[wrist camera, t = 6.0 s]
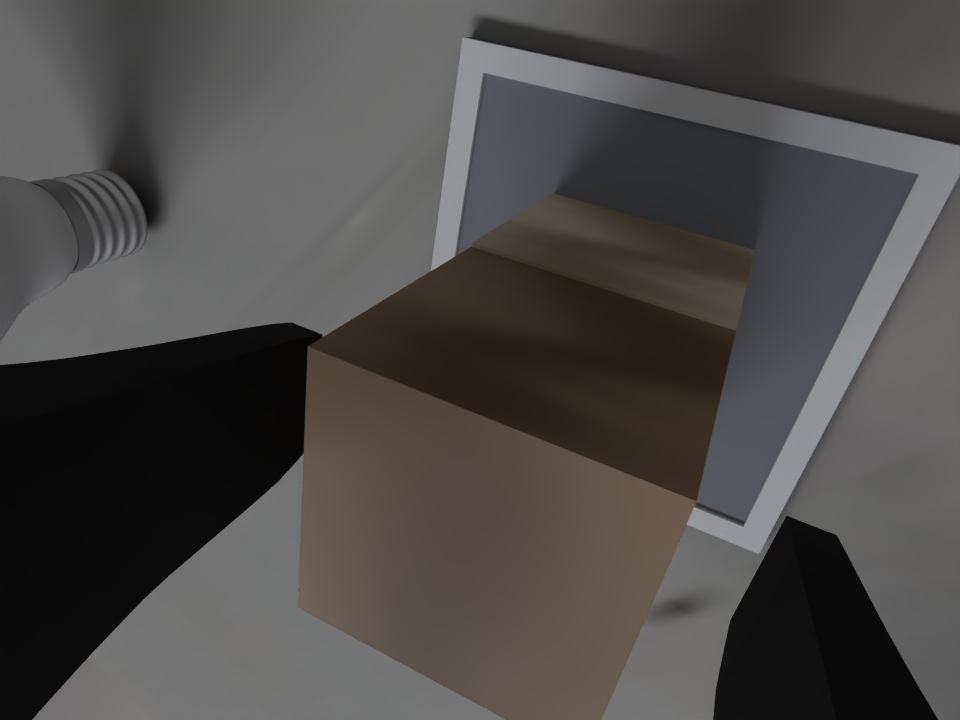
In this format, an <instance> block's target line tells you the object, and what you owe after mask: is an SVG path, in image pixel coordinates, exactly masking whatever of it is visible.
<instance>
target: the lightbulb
mask: <svg viewBox="0 0 960 720" xmlns="http://www.w3.org/2000/svg"><path fill="white" fill-rule="evenodd" d="M146 238H147V219H146V214H145V211H144V208H143V205H142V203H141V201H140V199H139V197H138V196H137V194H136V192H135V191H134V190H133V188H132V187H131V186H130V185H129V184H128V183H127V182H126V181H125V180H124V179H123V178H122V177H120V176H119V175H117V174H116V173H114V172H112V171H109V170H103V169H99V170H95V171H92V172H83V173H80V174H72V175H68V176H66V177H56V178H53V179H43V180H37V181H32V182H27V181H24V180H21V179H17V178H12V177H6V176H0V342H1V340H2V339H3V337H4V336H5V334H6V333H7V331H8V330H9V328H10V327H11V325H12V324H13V322H14V321H15V319H16V318H17V316H18V315H19V314H20V313H21V311H22V310H23V309H24V308H25V307H27V306H28V305H29V304H30V303H32V302H33V301H35V300H37V299H39V298H40V297H42V296H44V295H46V294H48V293H49V292H51V291H52V290H54V289H55V288H57V287H58V286H59V285H61V284H62V283H63V282H64V281H65V280H66V279H67V278H68V276H69V275H70V274H72V273H75V272H78V271H81V270H83V269H85V268H90V267H93V266H94V265H95V264H103V263H105V262H107V261H112V260H116V259H118V258H119V257H125V256H128V255H130V254H134V253H136V252H138V251H139V250H140V249H141V248H142V247H143V245H144V243H145V241H146Z"/></svg>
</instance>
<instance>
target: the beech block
mask: <svg viewBox="0 0 960 720" xmlns="http://www.w3.org/2000/svg"><path fill="white" fill-rule="evenodd" d="M471 247H474V248H477V249H480V250H483V251H487V252H490V253H493V254H496V255H499V256H502V257H505V258H509V259H512V260H515V261H518V262H521V263H524V264H527V265H530V266H534V267H537V268H540V269H543V270H546V271H549V272H552V273H556V274H559V275H562V276H565V277H568V278H571V279H574V280H578V281H581V282H584V283H587V284H590V285H593V286H596V287H600V288H603V289H606V290H609V291H612V292H615V293H618V294H622V295H625V296H628V297H631V298H634V299H637V300H640V301H644V302H647V303H650V304H653V305H656V306H659V307H662V308H665V309H669V310H672V311H675V312H678V313H681V314H684V315H687V316H691V317H694V318H697V319H700V320H703V321H706V322H709V323H713V324H716V325H719V326H722V327H725V328H728V329H731V330H735V331H736V329H737V326H738V322H739V318H740V313H741V309H742V305H743V300H744V296H745V291H746V287H747V283H748V278H749V274H750V270H751V265H752V261H753V257H754V252H755V250H753V249H749V248H746V247H742V246H739V245H735V244H732V243H728V242H725V241H721V240H717V239H714V238H710V237H707V236H703V235H700V234H696V233H693V232H689V231H686V230H682V229H678V228H675V227H671V226H668V225H664V224H661V223H657V222H654V221H650V220H647V219H643V218H639V217H636V216H632V215H629V214H625V213H622V212H618V211H615V210H611V209H608V208H604V207H600V206H597V205H593V204H590V203H586V202H583V201H579V200H576V199H572V198H569V197H565V196H562V195H558V194H552V195H551V196H549V197H547V198H546V199H544V200H542V201H541V202H539V203H537V204H536V205H534V206H532V207H531V208H529V209H527V210H526V211H524V212H522V213H521V214H519V215H517V216H516V217H514V218H512V219H511V220H509V221H507V222H506V223H504V224H502V225H501V226H499V227H497V228H496V229H494V230H492V231H491V232H489V233H487V234H486V235H484V236H482V237H481V238H479V239H477V240H476V241H474V242H472V244H471Z"/></svg>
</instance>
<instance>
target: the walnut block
mask: <svg viewBox="0 0 960 720" xmlns="http://www.w3.org/2000/svg"><path fill="white" fill-rule="evenodd" d="M735 333H736V331H735V330H731V329H728V328H725V327H722V326H719V325H716V324H713V323H709V322H706V321H703V320H700V319H697V318H694V317H691V316H687V315H684V314H681V313H678V312H675V311H672V310H669V309H665V308H662V307H659V306H656V305H653V304H650V303H647V302H644V301H640V300H637V299H634V298H631V297H628V296H625V295H622V294H618V293H615V292H612V291H609V290H606V289H603V288H600V287H596V286H593V285H590V284H587V283H584V282H581V281H578V280H574V279H571V278H568V277H565V276H562V275H559V274H556V273H552V272H549V271H546V270H543V269H540V268H537V267H534V266H530V265H527V264H524V263H521V262H518V261H515V260H512V259H509V258H505V257H502V256H499V255H496V254H493V253H490V252H487V251H483V250H480V249H477V248H474V247H470V248H468V249H467V250H465V251H463V252H462V253H460V254H458V255H457V256H455V257H453V258H452V259H450V260H449V261H447V262H445V263H444V264H442V265H440V266H439V267H437V268H435V269H434V270H432V271H431V272H429V273H427V274H426V275H424V276H422V277H421V278H419V279H417V280H416V281H414V282H413V283H411V284H409V285H408V286H406V287H404V288H403V289H401V290H399V291H398V292H396V293H395V294H393V295H391V296H390V297H388V298H386V299H385V300H383V301H381V302H380V303H378V304H377V305H375V306H373V307H372V308H370V309H368V310H367V311H365V312H363V313H362V314H360V315H358V316H357V317H355V318H354V319H352V320H350V321H349V322H347V323H345V324H344V325H342V326H340V327H339V328H337V329H336V330H334V331H332V332H331V333H329V334H327V335H326V336H324V337H322V338H321V339H319V340H318V341H316V342H314V343H313V344H311V345H309V346H308V352H307V379H306V407H305V434H304V461H303V489H302V516H301V543H300V571H299V598H298V608H300V609H302V610H304V611H306V612H307V613H309V614H311V615H313V616H315V617H317V618H319V619H320V620H322V621H324V622H326V623H328V624H330V625H332V626H333V627H335V628H337V629H339V630H341V631H343V632H345V633H346V634H348V635H350V636H352V637H354V638H356V639H358V640H359V641H361V642H363V643H365V644H367V645H369V646H371V647H372V648H374V649H376V650H378V651H380V652H382V653H384V654H385V655H387V656H389V657H391V658H393V659H395V660H397V661H398V662H400V663H402V664H404V665H406V666H408V667H410V668H411V669H413V670H415V671H417V672H419V673H421V674H423V675H424V676H426V677H428V678H430V679H432V680H434V681H436V682H437V683H439V684H441V685H443V686H445V687H447V688H449V689H450V690H452V691H454V692H456V693H458V694H460V695H461V696H463V697H465V698H467V699H469V700H471V701H473V702H474V703H476V704H478V705H480V706H482V707H484V708H486V709H487V710H489V711H491V712H493V713H495V714H497V715H499V716H500V717H502V718H504V719H506V720H601V719H602V717H603V714H604V712H605V710H606V707H607V705H608V703H609V701H610V698H611V696H612V694H613V691H614V689H615V687H616V685H617V682H618V680H619V678H620V675H621V673H622V671H623V669H624V666H625V664H626V662H627V659H628V657H629V655H630V653H631V650H632V648H633V646H634V643H635V641H636V639H637V637H638V634H639V632H640V630H641V627H642V625H643V623H644V621H645V618H646V616H647V614H648V611H649V609H650V607H651V605H652V602H653V600H654V598H655V595H656V593H657V591H658V588H659V586H660V584H661V582H662V579H663V577H664V575H665V572H666V570H667V568H668V566H669V563H670V561H671V559H672V556H673V554H674V552H675V550H676V547H677V545H678V543H679V540H680V538H681V536H682V534H683V531H684V529H685V527H686V524H687V522H688V520H689V518H690V515H691V513H692V511H693V508H694V506H695V504H696V502H697V497H698V493H699V489H700V484H701V480H702V476H703V471H704V467H705V463H706V458H707V454H708V450H709V445H710V441H711V437H712V432H713V428H714V424H715V419H716V415H717V411H718V407H719V402H720V398H721V394H722V389H723V385H724V381H725V376H726V372H727V368H728V363H729V359H730V355H731V350H732V346H733V342H734V337H735Z"/></svg>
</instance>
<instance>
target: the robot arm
mask: <svg viewBox="0 0 960 720" xmlns="http://www.w3.org/2000/svg"><path fill="white" fill-rule="evenodd" d="M321 338H322V334H319V333H317V332H314V331H312V330H309V329H306V328H304V327H301V326H299V325H296V324H294V323H280V324H270V325H263V326H256V327H250V328H244V329H238V330H232V331H227V332H221V333H216V334H210V335H205V336H199V337H194V338H188V339H183V340H178V341H172V342H167V343H161V344H156V345H150V346H144V347H137V348H131V349H124V350H118V351H111V352H105V353H98V354H92V355H86V356H79V357H73V358H65V359H57V360H48V361H39V362H30V363H19V364H8V365H0V720H32V719H33V718H34V717H35V716H36V715H37V713H38V712H39V711H40V710H41V709H42V708H43V706H44V705H45V704H46V703H47V702H48V701H49V700H50V699H51V698H52V697H53V695H54V694H55V693H56V692H57V691H58V690H59V689H60V688H61V687H62V685H63V684H64V683H65V682H66V681H67V680H68V679H69V678H70V677H71V676H72V674H73V673H74V672H75V671H76V670H77V669H78V668H79V667H80V666H81V664H82V663H83V662H84V661H85V660H86V659H87V658H88V657H89V656H90V655H91V654H92V652H93V651H94V650H95V649H96V648H97V647H98V646H99V645H100V644H101V643H102V642H103V641H104V640H105V639H106V638H107V637H108V636H109V635H110V634H111V633H112V632H113V630H114V629H115V628H116V627H117V626H118V625H119V624H120V623H121V622H122V621H123V620H124V619H125V618H126V617H127V616H128V615H129V614H130V613H131V612H132V611H133V610H134V609H135V608H136V607H137V606H138V605H139V603H140V602H141V601H142V600H143V599H144V598H145V597H146V596H148V595H149V594H150V593H151V592H152V591H153V590H154V589H155V588H156V587H157V586H158V585H159V584H160V583H162V582H163V581H164V580H165V579H166V578H167V577H168V576H169V575H170V574H171V573H173V572H174V571H175V570H176V569H177V568H178V567H180V566H181V565H182V564H183V563H184V562H186V561H187V560H188V559H189V558H190V557H191V556H193V555H194V554H195V553H196V552H197V551H198V550H200V549H201V548H202V547H203V546H204V545H205V544H207V543H208V542H209V541H210V540H211V539H212V538H214V537H215V536H216V535H217V534H218V533H220V532H221V531H222V530H223V529H224V528H225V527H227V526H228V525H229V524H230V523H231V522H232V521H234V520H235V519H236V518H237V517H238V516H239V515H241V514H242V513H243V512H244V511H245V510H246V509H248V508H249V507H250V506H251V505H252V504H253V503H254V502H256V501H257V500H258V499H259V498H260V497H261V496H262V495H264V494H265V493H266V492H267V491H268V490H269V489H270V488H271V487H273V486H274V485H275V484H276V483H277V482H278V481H279V480H280V479H281V478H282V477H283V476H284V475H285V473H286V472H287V471H288V470H289V469H290V468H291V467H292V466H293V465H294V464H295V463H296V461H297V460H298V459H299V458H300V457H301V456H302V454H303V453H304V434H305V407H306V379H307V352H308V346H309V345H311V344H313V343H314V342H316V341H318V340H319V339H321ZM713 720H938V719H937V717H936V715H935V714H934V712H933V710H932V709H931V707H930V705H929V704H928V702H927V700H926V699H925V697H924V695H923V694H922V692H921V690H920V688H919V687H918V685H917V683H916V682H915V680H914V678H913V676H912V675H911V673H910V671H909V669H908V668H907V666H906V664H905V662H904V661H903V659H902V657H901V655H900V653H899V652H898V650H897V648H896V646H895V644H894V643H893V641H892V639H891V637H890V635H889V633H888V632H887V630H886V628H885V626H884V624H883V622H882V621H881V619H880V617H879V615H878V613H877V611H876V609H875V607H874V605H873V604H872V602H871V600H870V598H869V596H868V594H867V592H866V590H865V588H864V586H863V584H862V583H861V581H860V579H859V577H858V575H857V573H856V571H855V569H854V567H853V565H852V563H851V561H850V559H849V557H848V555H847V554H846V552H845V550H844V548H843V546H842V544H841V542H840V540H839V539H838V537H837V535H835V534H832V533H829V532H827V531H824V530H822V529H819V528H817V527H814V526H812V525H809V524H806V523H804V522H801V521H799V520H796V519H794V518H791V517H788V516H786V518H785V520H784V522H783V523H782V525H781V527H780V529H779V531H778V533H777V535H776V536H775V538H774V540H773V542H772V544H771V546H770V548H769V549H768V551H767V553H766V555H765V557H764V559H763V561H762V563H761V564H760V566H759V568H758V570H757V572H756V574H755V576H754V577H753V579H752V581H751V583H750V585H749V587H748V589H747V590H746V592H745V594H744V596H743V598H742V600H741V602H740V603H739V605H738V607H737V609H736V611H735V613H734V615H733V616H732V618H731V620H730V624H729V629H728V634H727V638H726V643H725V647H724V652H723V657H722V662H721V667H720V672H719V677H718V682H717V687H716V695H715V706H714V718H713Z"/></svg>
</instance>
